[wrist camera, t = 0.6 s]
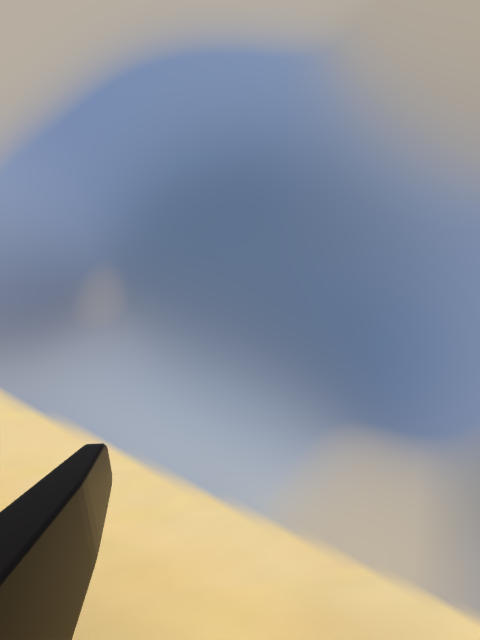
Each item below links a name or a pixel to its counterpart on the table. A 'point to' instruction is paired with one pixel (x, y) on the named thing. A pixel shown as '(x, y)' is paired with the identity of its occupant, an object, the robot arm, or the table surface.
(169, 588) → the table surface
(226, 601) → the table surface
